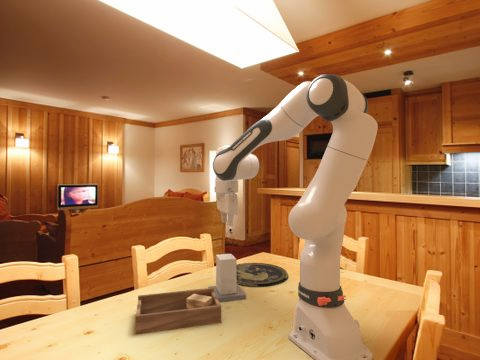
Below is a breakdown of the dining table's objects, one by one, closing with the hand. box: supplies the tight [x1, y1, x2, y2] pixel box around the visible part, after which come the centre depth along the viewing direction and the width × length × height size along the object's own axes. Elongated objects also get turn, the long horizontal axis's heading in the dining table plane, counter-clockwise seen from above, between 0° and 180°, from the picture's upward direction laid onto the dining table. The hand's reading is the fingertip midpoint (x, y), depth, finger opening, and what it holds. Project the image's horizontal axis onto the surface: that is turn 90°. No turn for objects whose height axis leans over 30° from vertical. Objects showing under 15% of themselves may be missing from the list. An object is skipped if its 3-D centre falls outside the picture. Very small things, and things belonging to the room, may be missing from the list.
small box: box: [215, 253, 238, 295], centre depth 112 cm, size 8×6×13 cm
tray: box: [135, 287, 222, 335], centre depth 93 cm, size 13×25×6 cm, turn 106°
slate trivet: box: [207, 284, 247, 303], centre depth 111 cm, size 12×12×2 cm
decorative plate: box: [236, 262, 289, 288], centre depth 134 cm, size 30×2×30 cm
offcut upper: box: [186, 294, 212, 308], centre depth 95 cm, size 7×4×3 cm, turn 67°
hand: (226, 224), depth 111 cm, fingers open, 8 cm apart
